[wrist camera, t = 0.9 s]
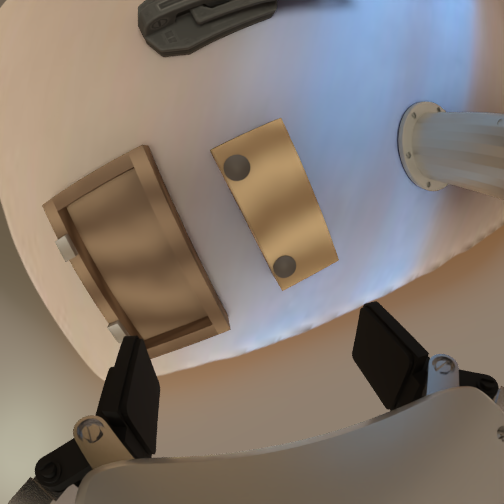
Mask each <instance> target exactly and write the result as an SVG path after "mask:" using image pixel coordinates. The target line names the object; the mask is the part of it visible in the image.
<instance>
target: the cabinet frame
mask: <svg viewBox="0 0 504 504" xmlns="http://www.w3.org/2000/svg"><path fill="white" fill-rule="evenodd" d="M42 206H43V208H44V211H45V213H46V215H47V217H48V219H49V222H50V224H51V226H52V228H53V230H54V232H55V234H56V236H57V238H58V240H57V241H55V243H56V245H57V247H58V249H59V251H60V252H61V254H62V256H63V258H64V260H65V262H67V261H68V260H69V261H70V262H71V264H72V266H73V268H74V270H75V271H76V273H77V275H78V276H79V278H80V280H81V281H82V283H83V285H84V286H85V288H86V290H87V291H88V293H89V294H90V296H91V298H92V299H93V301H94V302H95V304H96V305H97V307H98V308H99V310H100V311H101V313H102V314H103V316H104V317H105V319H106V320H107V322H108V323H109V325H108V327H107V328H108V329H109V331H110V332H111V333H112V335H113V336H114V338H115V339H116V340H117V342H118V343H121V342H122V341H123V338H124V336H135V335H137V336H138V337H139V339H143V340H144V343H145V346H146V349H147V351H148V354H149V357H150V359H152V358H155V357H158V356H161V355H164V354H166V353H169V352H172V351H175V350H178V349H181V348H183V347H186V346H189V345H192V344H194V343H197V342H200V341H202V340H205V339H208V338H210V337H213V336H215V335H218V334H221V333H223V332H226V331H228V330H231V329H230V324H229V319H228V315H227V313H226V311H225V309H224V307H223V305H222V303H221V301H220V300H219V298H218V296H217V294H216V292H215V290H214V288H213V286H212V284H211V282H210V280H209V278H208V276H207V274H206V272H205V270H204V268H203V266H202V264H201V262H200V260H199V258H198V256H197V253H196V251H195V249H194V247H193V245H192V243H191V241H190V239H189V237H188V235H187V233H186V230H185V228H184V226H183V224H182V222H181V220H180V217H179V215H178V213H177V211H176V209H175V207H174V204H173V202H172V200H171V198H170V195H169V193H168V191H167V189H166V186H165V184H164V182H163V180H162V177H161V175H160V173H159V170H158V168H157V166H156V163H155V161H154V159H153V156H152V154H151V151H150V149H149V147H148V146H146V145H141V146H139V147H137V148H135V149H133V150H131V151H130V152H128V153H126V154H124V155H122V156H120V157H118V158H116V159H115V160H113V161H111V162H109V163H107V164H106V165H104V166H102V167H100V168H99V169H97V170H95V171H94V172H92V173H90V174H89V175H87V176H85V177H84V178H82V179H81V180H79V181H77V182H76V183H74V184H73V185H71V186H70V187H68V188H67V189H65V190H64V191H62V192H61V193H59V194H58V195H56V196H55V197H53V198H52V199H50V200H49V201H48V202H46V203H45V204H43V205H42Z"/></svg>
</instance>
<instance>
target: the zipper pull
mask: <svg viewBox="0 0 504 504" xmlns="http://www.w3.org/2000/svg"><path fill="white" fill-rule="evenodd" d="M276 9H277V0H146V1H144V2H143V3H142V4H141V5H140V6H139V7H138V27H139V29H140V31H141V33H142V35H143V37H144V38H145V40H146V42H147V44H148V45H149V46H150V47H151V48H153V49H154V50H155V51H156V52H158V53H159V54H160V55H161V56H163V57H169V56H178V55H189V54H191V53H193V52H195V51H197V50H199V49H200V48H202V47H204V46H206V45H208V44H210V43H212V42H214V41H216V40H218V39H220V38H222V37H225V36H227V35H229V34H231V33H234V32H236V31H238V30H241V29H243V28H245V27H248V26H251V25H253V24H256V23H258V22H261V21H264V20H266V19H269V18H271V17H272V16H273V14H274V13H275V11H276Z"/></svg>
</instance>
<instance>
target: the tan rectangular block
mask: <svg viewBox="0 0 504 504" xmlns="http://www.w3.org/2000/svg"><path fill="white" fill-rule="evenodd" d="M210 151H211V153H212V155H213V157H214V159H215V161H216V163H217V165H218V167H219V169H220V171H221V173H222V175H223V177H224V179H225V181H226V183H227V185H228V187H229V188H230V190H231V192H232V194H233V196H234V198H235V200H236V202H237V204H238V206H239V208H240V210H241V212H242V214H243V216H244V218H245V220H246V222H247V224H248V226H249V228H250V230H251V232H252V234H253V236H254V238H255V240H256V242H257V244H258V246H259V248H260V250H261V252H262V254H263V256H264V258H265V260H266V262H267V264H268V266H269V268H270V270H271V272H272V274H273V276H274V277H275V279H276V281H277V282H278V284H279V286H280V287H281V289H282V291H283V290H285V289H287V288H289V287H291V286H293V285H295V284H296V283H298V282H300V281H302V280H304V279H306V278H308V277H309V276H311V275H313V274H315V273H317V272H319V271H320V270H322V269H324V268H326V267H328V266H329V265H331V264H333V263H335V262H336V261H338V260H339V259H338V256H337V253H336V250H335V248H334V245H333V242H332V239H331V236H330V234H329V231H328V228H327V225H326V223H325V220H324V218H323V215H322V212H321V210H320V207H319V205H318V202H317V199H316V197H315V194H314V192H313V189H312V187H311V185H310V182H309V180H308V177H307V175H306V173H305V170H304V168H303V166H302V163H301V161H300V159H299V156H298V154H297V152H296V149H295V147H294V145H293V143H292V141H291V138H290V136H289V134H288V132H287V130H286V128H285V125H284V123H283V121H282V119H281V118H279V119H277V120H274V121H272V122H269V123H267V124H265V125H262V126H260V127H258V128H256V129H253V130H251V131H249V132H247V133H245V134H242V135H240V136H238V137H236V138H234V139H232V140H230V141H228V142H225V143H223V144H221V145H219V146H217V147H215V148H213V149H211V150H210Z"/></svg>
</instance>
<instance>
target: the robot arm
mask: <svg viewBox="0 0 504 504" xmlns="http://www.w3.org/2000/svg"><path fill="white" fill-rule="evenodd" d="M398 143H399V152H400V158H401V161H402V164H403V167H404V169H405V171H406V173H407V175H408V176H409V178H410V179H411V180H412V181H413V182H414V183H415V184H416V185H417V186H419V187H420V188H422V189H425V190H429V191H438V190H441V189H443V188H444V187H446V186H447V185H448V184H450V185H454V186H458V187H461V188H465V189H469V190H472V191H476V192H479V193H482V194H486V195H489V196H492V197H495V198H498V199H501V200H504V114H500V113H482V112H446V111H445V110H444V109H443V108H442V107H440V106H439V105H437V104H435V103H432V102H418V103H415V104H414V105H412V106H411V107H410V108H409V109H407V111H406V112H405V114H404V116H403V118H402V121H401V123H400V128H399V137H398ZM428 354H429V353H428V352H427V351H426V350H425V349H424V348H423V347H422V346H421V345H420V344H419V343H418V342H417V341H416V340H415V339H414V338H413V337H412V336H411V335H410V333H409V332H407V331H406V329H405V328H403V326H401V325H400V323H399V322H398V321H397V320H396V319H394V317H393V316H391V315H390V314H389V313H388V312H387V311H386V310H385V309H384V308H383V307H382V306H381V305H380V304H379V303H378V302H371V303H366V304H364V306H363V308H361V309H360V315H359V320H358V326H357V331H356V337H355V342H354V347H353V351H352V356H353V359H354V361H355V363H356V364H357V366H358V367H359V368H360V370H361V371H362V373H363V374H364V376H365V377H366V379H367V380H368V382H369V383H370V385H371V386H372V388H373V389H374V391H375V392H376V394H377V395H378V397H379V398H380V400H381V401H382V403H383V405H384V406H385V407H386V409H390V410H391V411H390V412H387V413H385V414H383V415H380V416H378V417H375V418H372V419H369V420H367V421H364V422H361V423H358V424H355V425H352V426H349V427H346V428H343V429H340V430H337V431H333V432H330V433H327V434H323V435H319V436H316V437H312V438H308V439H304V440H300V441H296V442H291V443H287V444H282V445H277V446H272V447H267V448H261V449H255V450H249V451H242V452H235V453H226V454H216V455H204V456H190V457H169V458H167V457H166V458H151V456H152V454H155V452H156V435H157V421H158V408H159V397H160V385H159V381H158V379H157V376H156V374H155V371H154V368H153V366H152V363H151V360H150V357H149V354H148V351H147V349H146V346H145V343H144V340H143V339H139V337H138V336H137V335H135V336H124V338H123V341H122V344H121V347H120V350H119V353H118V356H117V359H116V363H115V366H114V367H111V368H109V371H108V374H107V377H106V380H105V384H104V387H103V391H102V394H101V398H100V401H99V405H98V408H97V412H96V416H94V415H90V416H86V417H83V418H82V419H80V420H79V421H78V422H77V423H76V424H75V426H74V429H73V436H74V438H73V439H72V440H70V441H69V442H67V443H65V444H64V445H62V446H61V447H59V448H57V449H56V450H54V451H52V452H51V453H49V454H47V455H46V456H44V457H42V458H41V459H40V460H39V461H38V462H37V464H36V467H35V475H36V476H35V477H34V479H32V478H31V477H30V478H29V479H28V480H27V482H26V483H25V484H24V485H23V486H22V487H21V488H20V490H19V491H18V492H17V493H16V494H15V495H14V496H13V497H12V499H11V500H10V501H9V503H8V504H504V387H503V386H501V387H500V388H498V384H497V382H496V380H495V379H494V378H492V377H491V376H489V375H485V374H480V373H474V372H469V371H464V370H459V368H458V364H457V362H456V361H455V360H454V359H453V358H452V357H450V356H448V355H445V354H438V355H434V356H433V357H431V359H430V358H429V357H428Z"/></svg>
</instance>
